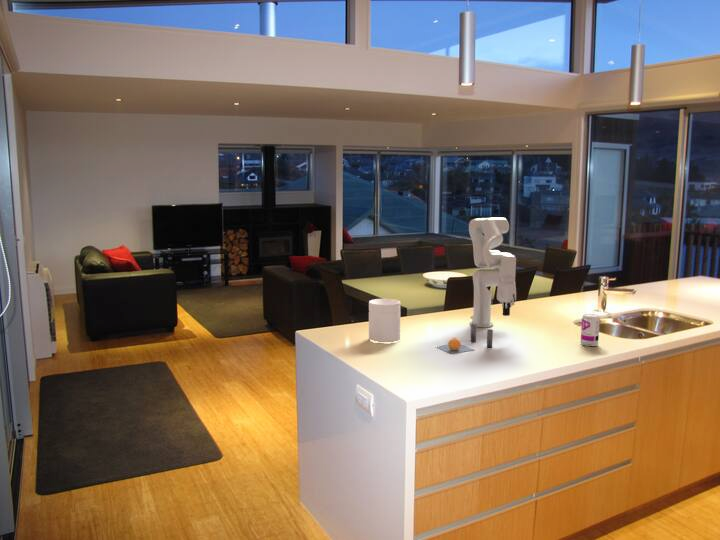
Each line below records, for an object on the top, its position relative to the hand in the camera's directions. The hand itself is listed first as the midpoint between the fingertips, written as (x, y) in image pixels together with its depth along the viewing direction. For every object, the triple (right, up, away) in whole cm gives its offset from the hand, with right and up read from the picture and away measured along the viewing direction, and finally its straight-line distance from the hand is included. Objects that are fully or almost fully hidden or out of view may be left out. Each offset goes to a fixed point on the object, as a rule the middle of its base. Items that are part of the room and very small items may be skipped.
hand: (506, 315), depth 317 cm
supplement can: (+40, -15, -5) cm, 43 cm away
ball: (-28, -13, -16) cm, 35 cm away
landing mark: (-28, -15, -12) cm, 34 cm away
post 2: (-11, -15, -10) cm, 21 cm away
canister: (-61, -13, +4) cm, 63 cm away
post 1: (-16, -13, +1) cm, 21 cm away
